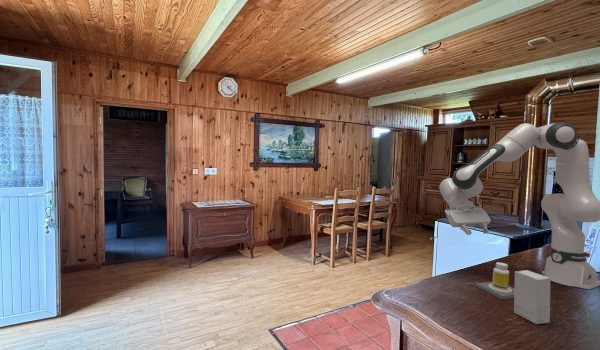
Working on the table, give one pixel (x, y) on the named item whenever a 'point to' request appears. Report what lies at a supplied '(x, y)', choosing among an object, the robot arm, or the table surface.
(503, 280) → the supplement bottle
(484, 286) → the board
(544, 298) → the skincare box
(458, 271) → the table surface
